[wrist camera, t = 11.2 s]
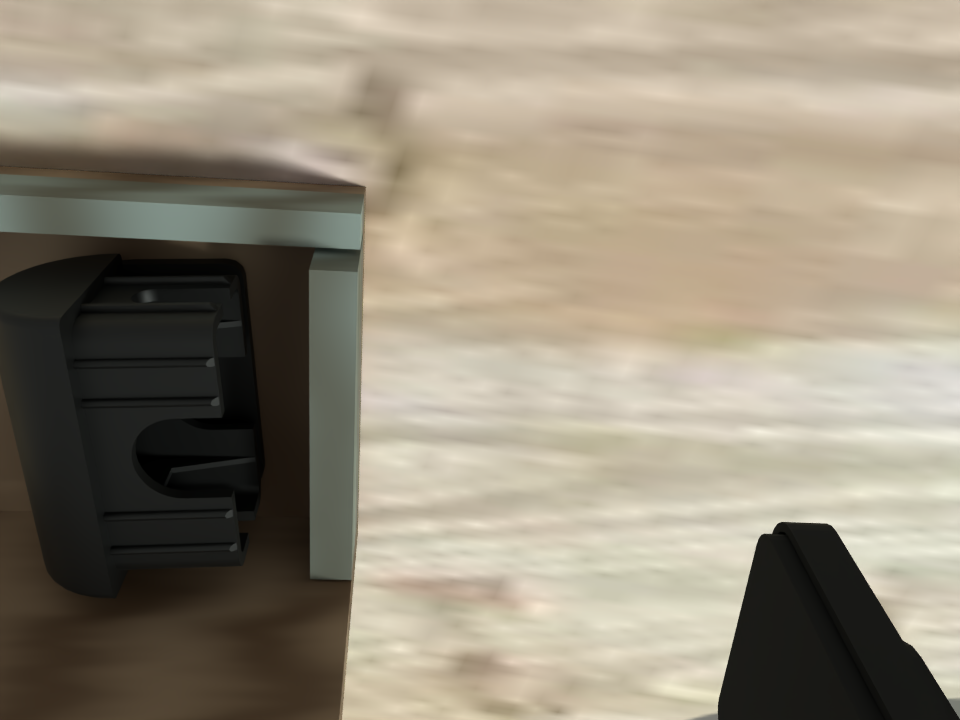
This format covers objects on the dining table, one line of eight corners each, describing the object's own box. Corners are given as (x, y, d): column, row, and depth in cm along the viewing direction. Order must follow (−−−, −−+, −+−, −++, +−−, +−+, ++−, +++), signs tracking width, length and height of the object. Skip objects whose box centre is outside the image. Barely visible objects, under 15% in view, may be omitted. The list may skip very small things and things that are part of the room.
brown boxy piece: (365, 186, 32) (340, 333, 21) (357, 534, 39) (335, 797, 27) (-174, 156, 31) (-535, 297, 19) (-90, 525, 37) (-321, 802, 25)
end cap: (34, 245, 31) (-56, 322, 25) (243, 244, 32) (204, 319, 26) (84, 490, 36) (17, 605, 30) (268, 485, 36) (238, 598, 30)
